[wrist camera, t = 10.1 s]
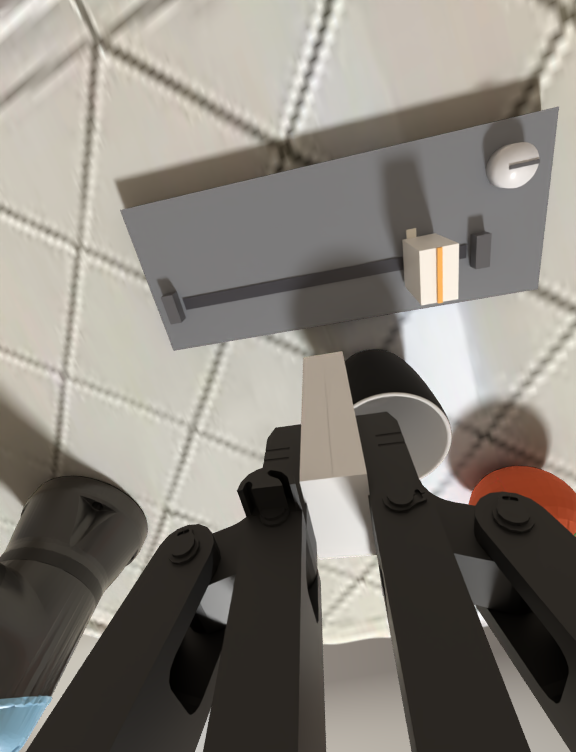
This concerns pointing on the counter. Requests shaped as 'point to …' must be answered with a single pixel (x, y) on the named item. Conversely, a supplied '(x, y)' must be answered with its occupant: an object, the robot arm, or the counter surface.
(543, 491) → the tomato
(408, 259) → the fader tab
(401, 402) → the mug
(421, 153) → the console
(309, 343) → the counter surface
